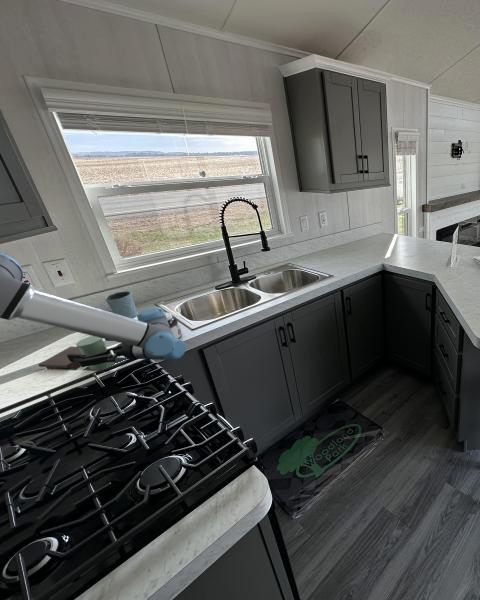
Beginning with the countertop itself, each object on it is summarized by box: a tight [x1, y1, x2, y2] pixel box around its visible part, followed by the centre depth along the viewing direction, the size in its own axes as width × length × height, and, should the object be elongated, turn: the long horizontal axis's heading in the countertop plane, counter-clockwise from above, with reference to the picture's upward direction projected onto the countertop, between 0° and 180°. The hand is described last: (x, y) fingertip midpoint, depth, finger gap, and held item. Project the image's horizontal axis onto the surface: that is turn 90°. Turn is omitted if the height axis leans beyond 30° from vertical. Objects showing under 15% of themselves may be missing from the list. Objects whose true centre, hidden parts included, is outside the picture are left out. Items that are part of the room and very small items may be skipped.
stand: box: [37, 346, 82, 371], centre depth 127 cm, size 12×12×4 cm
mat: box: [82, 356, 128, 372], centre depth 124 cm, size 13×13×1 cm
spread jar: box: [164, 312, 182, 339], centre depth 140 cm, size 12×11×12 cm
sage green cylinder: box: [75, 335, 114, 372], centre depth 122 cm, size 7×7×12 cm
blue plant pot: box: [104, 290, 139, 319], centre depth 161 cm, size 10×10×12 cm
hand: (88, 347), depth 121 cm, fingers open, 13 cm apart
